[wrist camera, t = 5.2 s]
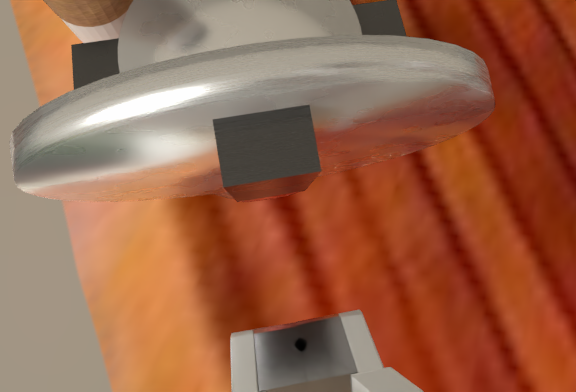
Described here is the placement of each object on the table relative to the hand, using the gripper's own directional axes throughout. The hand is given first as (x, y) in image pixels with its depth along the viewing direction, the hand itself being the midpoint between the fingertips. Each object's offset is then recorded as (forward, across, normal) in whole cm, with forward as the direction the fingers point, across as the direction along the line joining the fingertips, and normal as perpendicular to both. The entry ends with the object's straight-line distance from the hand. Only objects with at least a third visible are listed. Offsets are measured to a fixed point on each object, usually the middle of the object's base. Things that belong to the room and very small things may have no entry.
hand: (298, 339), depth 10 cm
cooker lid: (+8, 0, -2) cm, 8 cm away
